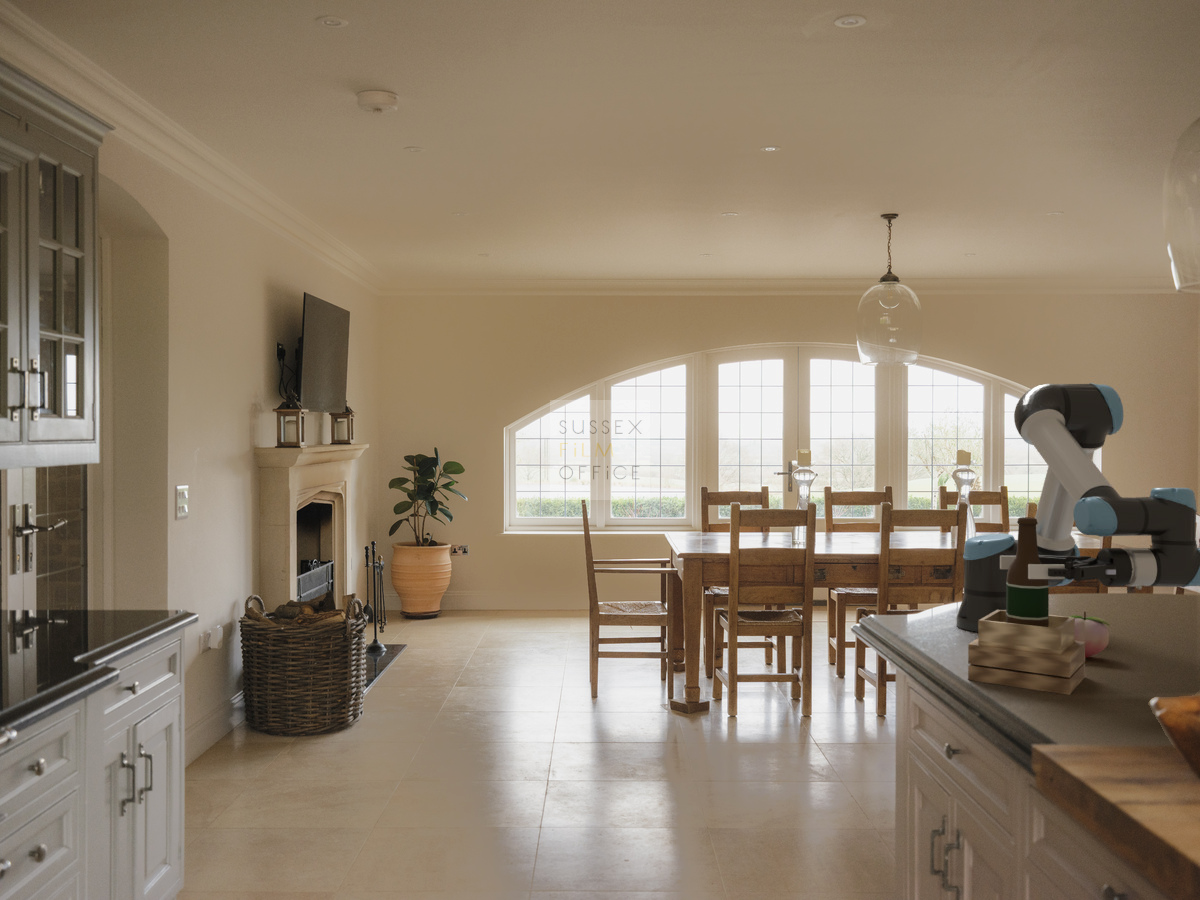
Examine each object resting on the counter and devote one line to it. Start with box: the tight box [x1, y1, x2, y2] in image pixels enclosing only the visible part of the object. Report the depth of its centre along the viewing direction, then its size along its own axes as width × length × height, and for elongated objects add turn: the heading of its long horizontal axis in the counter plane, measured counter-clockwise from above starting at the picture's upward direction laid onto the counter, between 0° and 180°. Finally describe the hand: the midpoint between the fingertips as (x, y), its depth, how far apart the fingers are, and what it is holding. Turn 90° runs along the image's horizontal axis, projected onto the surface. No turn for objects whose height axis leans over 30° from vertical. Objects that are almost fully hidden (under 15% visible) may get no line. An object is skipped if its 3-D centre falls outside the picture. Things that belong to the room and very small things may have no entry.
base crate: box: [967, 637, 1086, 696], centre depth 180 cm, size 18×16×7 cm
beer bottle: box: [1006, 516, 1050, 627], centre depth 180 cm, size 8×8×24 cm
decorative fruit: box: [1067, 611, 1110, 659], centre depth 198 cm, size 9×8×10 cm
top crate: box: [977, 610, 1075, 655], centre depth 180 cm, size 15×15×5 cm
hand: (1014, 566), depth 181 cm, fingers open, 13 cm apart
